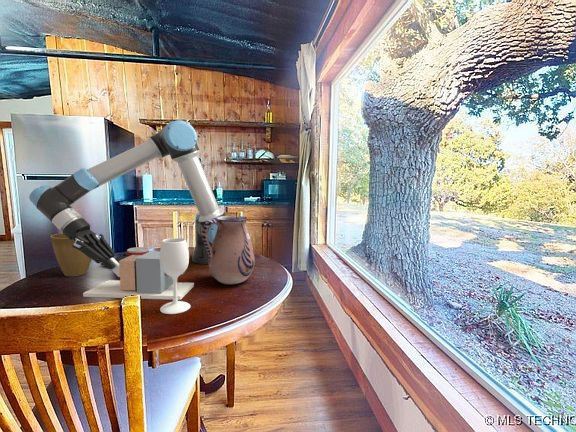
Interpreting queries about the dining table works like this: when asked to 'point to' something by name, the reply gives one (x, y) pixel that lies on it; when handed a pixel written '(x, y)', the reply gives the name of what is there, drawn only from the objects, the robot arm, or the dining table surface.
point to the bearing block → (144, 282)
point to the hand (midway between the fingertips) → (122, 273)
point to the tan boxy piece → (128, 273)
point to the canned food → (137, 251)
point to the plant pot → (69, 256)
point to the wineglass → (174, 270)
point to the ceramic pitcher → (229, 250)
